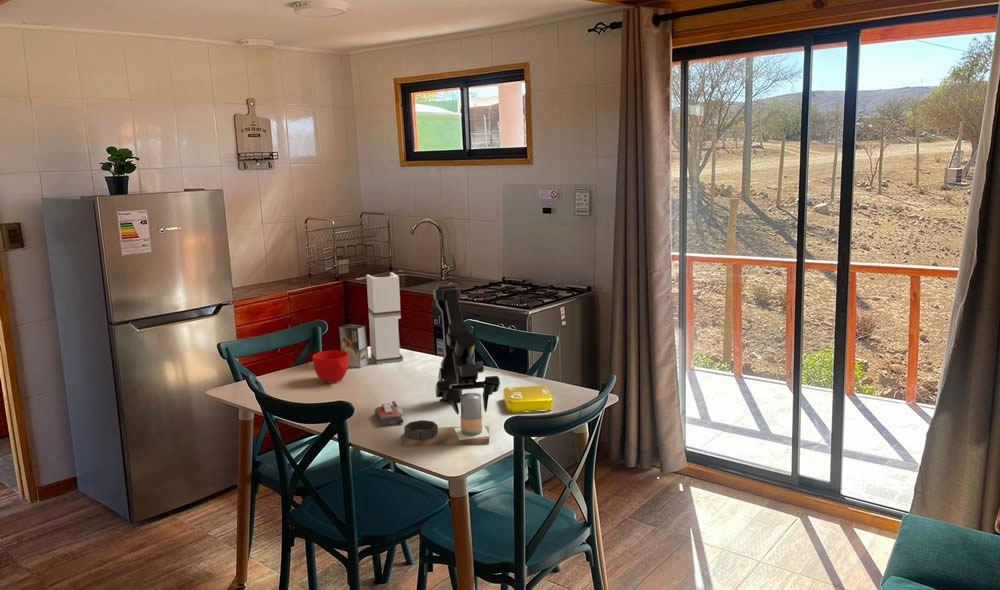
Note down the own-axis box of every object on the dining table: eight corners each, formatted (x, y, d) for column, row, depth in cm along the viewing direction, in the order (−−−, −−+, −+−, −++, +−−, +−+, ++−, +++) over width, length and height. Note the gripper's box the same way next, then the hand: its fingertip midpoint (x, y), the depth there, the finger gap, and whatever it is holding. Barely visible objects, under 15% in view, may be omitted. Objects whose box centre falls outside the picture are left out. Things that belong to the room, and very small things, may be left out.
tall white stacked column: (402, 361, 299) (398, 276, 292) (377, 364, 295) (372, 278, 288) (396, 354, 309) (392, 272, 302) (371, 357, 305) (366, 274, 299)
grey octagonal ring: (422, 425, 223) (421, 417, 222) (444, 433, 216) (444, 424, 216) (397, 435, 216) (397, 426, 215) (420, 442, 209) (419, 434, 209)
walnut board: (402, 445, 211) (402, 441, 211) (406, 433, 221) (405, 428, 221) (489, 443, 212) (489, 438, 211) (489, 430, 221) (488, 426, 221)
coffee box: (369, 363, 296) (367, 325, 293) (360, 368, 290) (358, 328, 287) (350, 361, 300) (348, 323, 297) (341, 366, 294) (338, 326, 291)
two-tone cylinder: (465, 427, 220) (463, 392, 218) (485, 429, 218) (484, 393, 216) (458, 434, 214) (456, 398, 212) (478, 436, 212) (477, 400, 210)
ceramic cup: (327, 390, 263) (325, 363, 261) (308, 380, 276) (307, 354, 274) (360, 383, 270) (358, 357, 268) (341, 373, 284) (339, 348, 282)
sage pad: (454, 428, 219) (454, 428, 219) (483, 425, 221) (483, 425, 221) (459, 439, 211) (459, 439, 211) (490, 436, 213) (490, 435, 213)
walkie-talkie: (409, 425, 229) (396, 405, 247) (409, 411, 228) (396, 392, 246) (381, 429, 226) (370, 408, 244) (381, 415, 225) (369, 396, 243)
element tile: (554, 412, 237) (553, 398, 237) (507, 414, 236) (507, 400, 235) (546, 397, 252) (546, 384, 251) (502, 399, 251) (502, 386, 250)
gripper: (435, 354, 213) (442, 403, 205) (497, 349, 218) (507, 396, 209) (432, 373, 222) (439, 420, 214) (492, 367, 227) (501, 413, 218)
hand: (472, 412), depth 214 cm, fingers open, 8 cm apart
